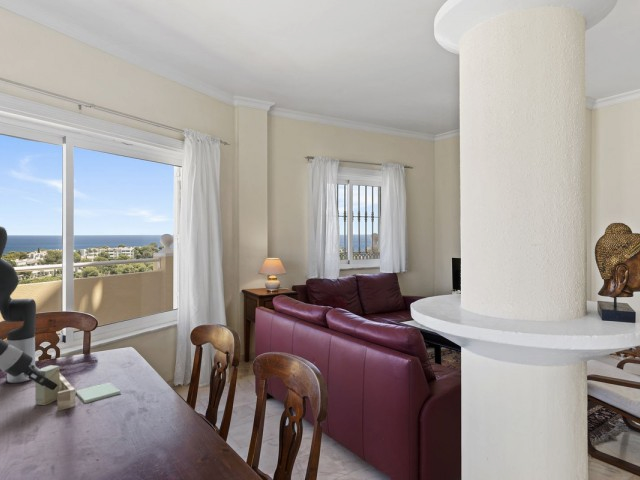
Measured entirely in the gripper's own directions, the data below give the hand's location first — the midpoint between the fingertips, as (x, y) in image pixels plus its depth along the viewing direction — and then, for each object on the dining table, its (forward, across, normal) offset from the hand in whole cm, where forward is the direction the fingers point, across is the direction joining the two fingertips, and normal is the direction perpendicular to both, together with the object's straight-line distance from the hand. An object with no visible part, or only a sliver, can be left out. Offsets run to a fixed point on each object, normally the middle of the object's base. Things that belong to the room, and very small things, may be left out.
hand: (52, 384), depth 142 cm
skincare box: (+3, 0, +5) cm, 6 cm away
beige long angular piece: (+5, 0, +3) cm, 6 cm away
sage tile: (+13, -5, -6) cm, 15 cm away
